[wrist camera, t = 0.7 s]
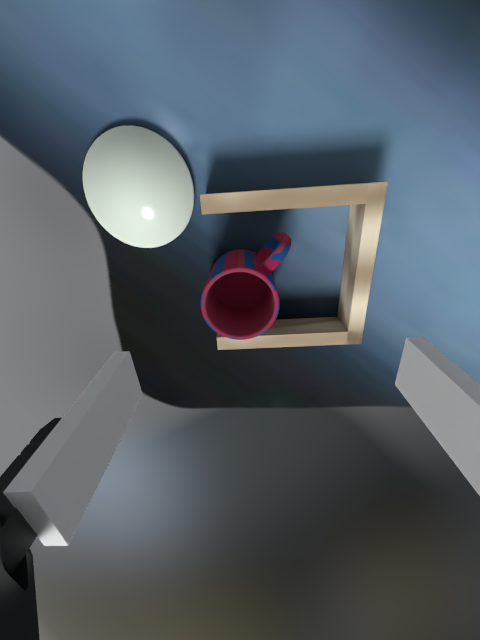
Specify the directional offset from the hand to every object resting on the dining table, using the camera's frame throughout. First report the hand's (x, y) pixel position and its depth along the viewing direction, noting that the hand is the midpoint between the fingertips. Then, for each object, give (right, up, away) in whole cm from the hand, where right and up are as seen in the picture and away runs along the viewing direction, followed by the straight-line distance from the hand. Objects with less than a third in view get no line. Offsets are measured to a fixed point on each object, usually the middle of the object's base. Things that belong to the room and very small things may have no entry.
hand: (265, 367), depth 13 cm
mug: (0, +8, +15) cm, 17 cm away
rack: (+3, +8, +15) cm, 17 cm away
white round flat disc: (-10, +14, +12) cm, 21 cm away
